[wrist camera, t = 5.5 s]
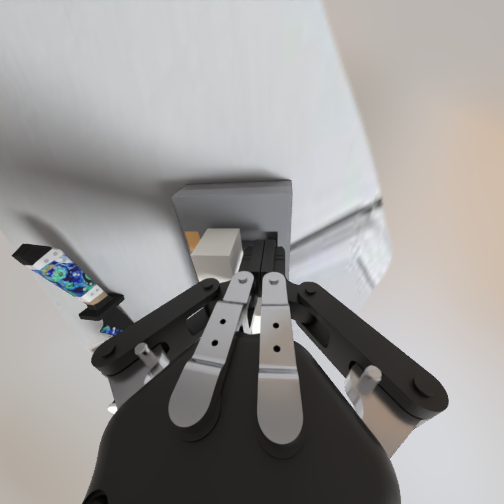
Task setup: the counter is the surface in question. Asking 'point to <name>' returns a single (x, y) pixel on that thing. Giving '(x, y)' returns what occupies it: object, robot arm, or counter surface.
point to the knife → (75, 285)
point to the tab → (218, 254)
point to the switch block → (237, 212)
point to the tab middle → (257, 317)
